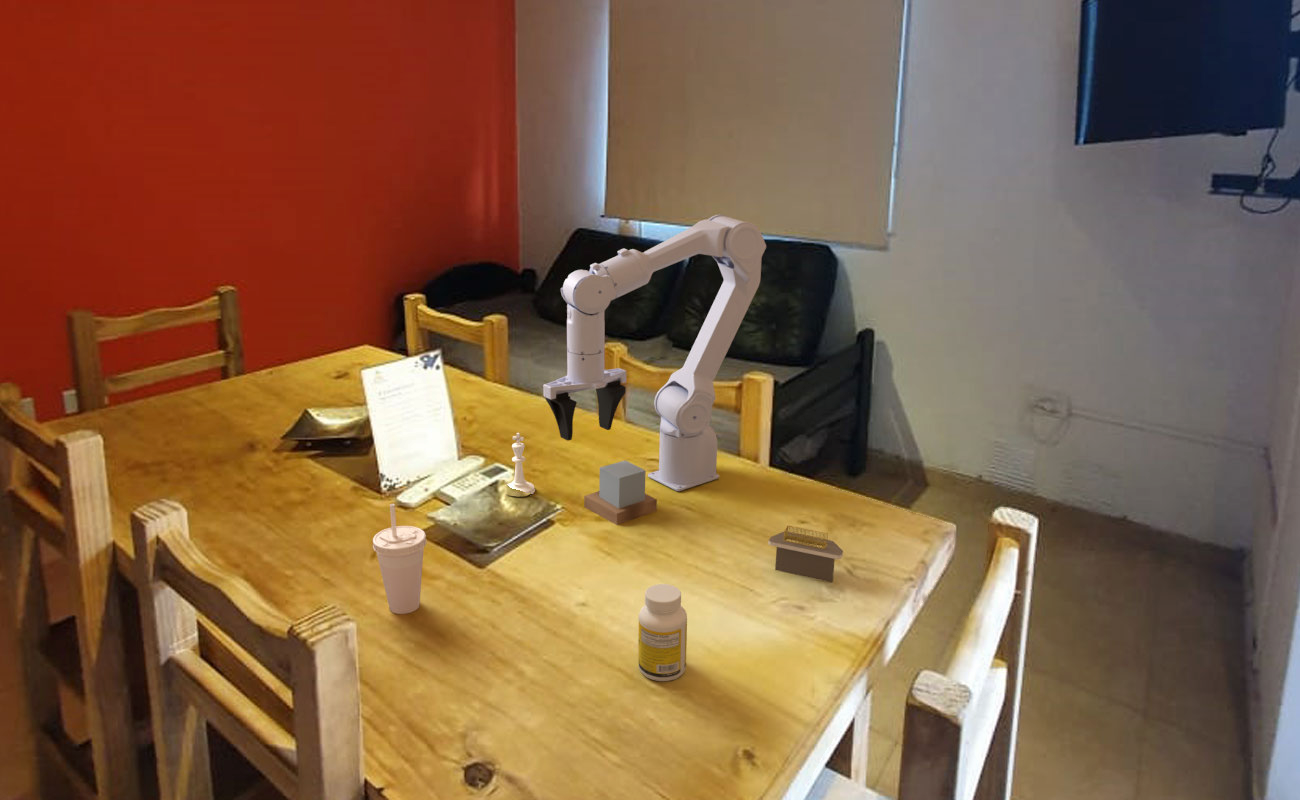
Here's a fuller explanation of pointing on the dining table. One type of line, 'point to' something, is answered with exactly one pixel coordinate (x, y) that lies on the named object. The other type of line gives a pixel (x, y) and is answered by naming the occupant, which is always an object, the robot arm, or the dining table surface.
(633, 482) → the slate cube
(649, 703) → the dining table surface
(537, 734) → the dining table surface
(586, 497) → the walnut block
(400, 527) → the smoothie
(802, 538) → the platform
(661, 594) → the supplement bottle
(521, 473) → the chess piece
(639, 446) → the dining table surface
